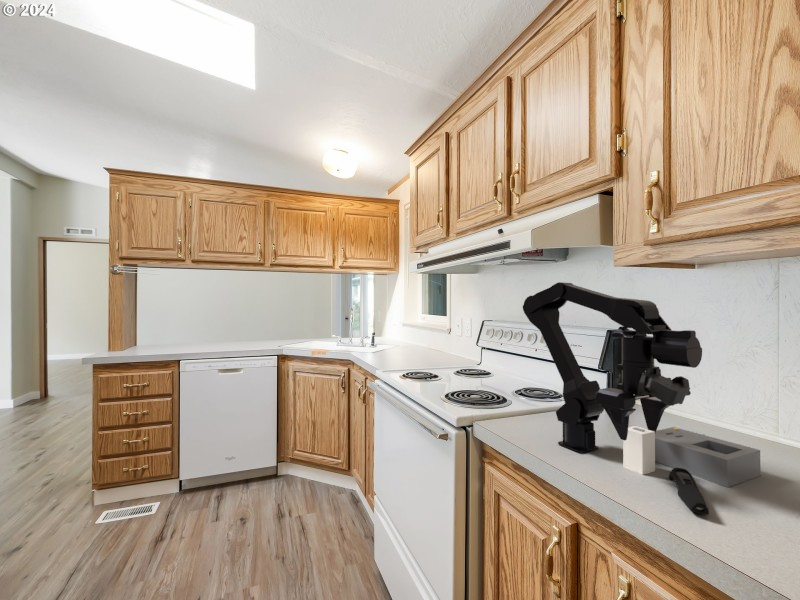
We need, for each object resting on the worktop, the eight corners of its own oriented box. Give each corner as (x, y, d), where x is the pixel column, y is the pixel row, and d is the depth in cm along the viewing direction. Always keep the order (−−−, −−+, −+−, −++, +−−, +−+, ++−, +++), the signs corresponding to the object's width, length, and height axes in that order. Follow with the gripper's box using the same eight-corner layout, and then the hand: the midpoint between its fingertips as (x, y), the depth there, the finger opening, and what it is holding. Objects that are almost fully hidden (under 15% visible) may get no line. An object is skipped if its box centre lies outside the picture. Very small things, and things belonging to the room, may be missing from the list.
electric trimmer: (685, 519, 61) (685, 499, 61) (667, 478, 75) (667, 462, 75) (715, 525, 59) (715, 504, 59) (691, 482, 73) (691, 466, 73)
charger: (623, 467, 79) (623, 427, 79) (635, 463, 81) (635, 425, 81) (642, 474, 76) (642, 433, 76) (655, 471, 77) (654, 430, 77)
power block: (641, 456, 85) (641, 433, 85) (673, 448, 90) (673, 426, 90) (727, 487, 70) (727, 458, 70) (760, 475, 75) (760, 448, 76)
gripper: (648, 369, 67) (649, 458, 67) (708, 363, 75) (708, 442, 75) (593, 361, 78) (593, 438, 77) (650, 356, 85) (651, 426, 85)
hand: (638, 436), depth 79 cm, fingers open, 9 cm apart
